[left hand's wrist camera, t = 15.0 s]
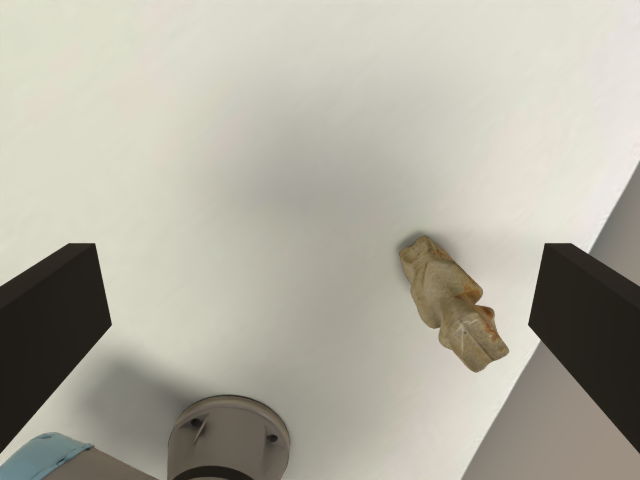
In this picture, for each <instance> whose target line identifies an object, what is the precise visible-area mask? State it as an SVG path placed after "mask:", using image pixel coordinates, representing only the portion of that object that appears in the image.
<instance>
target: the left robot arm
mask: <svg viewBox="0 0 640 480" xmlns="http://www.w3.org/2000/svg"><path fill="white" fill-rule="evenodd" d="M111 325H112V323H111V318H110V313H109V308H108V303H107V299H106V294H105V289H104V284H103V279H102V274H101V270H100V265H99V260H98V255H97V250H96V245H95V243H69V244H67V245H65V246H64V247H62V248H61V249H59V250H57V251H56V252H54V253H53V254H51V255H50V256H48V257H46V258H45V259H43V260H42V261H40V262H38V263H37V264H35V265H34V266H32V267H31V268H29V269H27V270H26V271H24V272H23V273H21V274H19V275H18V276H16V277H15V278H13V279H12V280H10V281H8V282H7V283H5V284H4V285H2V286H0V453H1V452H2V451H3V450H4V449H5V448H6V447H7V445H8V444H9V443H10V442H11V441H12V440H13V438H14V437H15V436H16V435H17V434H18V433H19V432H20V430H21V429H22V428H23V427H24V426H25V425H26V423H27V422H28V421H29V420H30V419H31V418H32V417H33V415H34V414H35V413H36V412H37V411H38V410H39V408H40V407H41V406H42V405H43V404H44V403H45V402H46V400H47V399H48V398H49V397H50V396H51V395H52V393H53V392H54V391H55V390H56V389H57V388H58V387H59V385H60V384H61V383H62V382H63V381H64V380H65V378H66V377H67V376H68V375H69V374H70V373H71V372H72V370H73V369H74V368H75V367H76V366H77V365H78V363H79V362H80V361H81V360H82V359H83V358H84V357H85V355H86V354H87V353H88V352H89V351H90V350H91V348H92V347H93V346H94V345H95V344H96V343H97V342H98V340H99V339H100V338H101V337H102V336H103V335H104V333H105V332H106V331H107V330H108V329H109V328H110V327H111ZM528 325H529V327H530V328H531V329H532V330H533V331H534V332H535V333H536V335H537V336H538V337H539V338H540V339H541V340H542V342H543V343H544V344H545V345H546V346H547V347H548V348H549V350H550V351H551V352H552V353H553V354H554V355H555V356H556V358H557V359H558V360H559V361H560V362H561V363H562V365H563V366H564V367H565V368H566V369H567V370H568V372H569V373H570V374H571V375H572V376H573V377H574V378H575V380H576V381H577V382H578V383H579V384H580V385H581V387H582V388H583V389H584V390H585V391H586V392H587V393H588V395H589V396H590V397H591V398H592V399H593V400H594V402H595V403H596V404H597V405H598V406H599V407H600V408H601V410H602V411H603V412H604V413H605V414H606V415H607V417H608V418H609V419H610V420H611V421H612V422H613V423H614V425H615V426H616V427H617V428H618V429H619V430H620V432H621V433H622V434H623V435H624V436H625V437H626V438H627V440H628V441H629V442H630V443H631V444H632V445H633V446H634V448H635V449H636V450H637V451H638V452H639V453H640V286H638V285H636V284H635V283H633V282H632V281H630V280H628V279H627V278H625V277H624V276H622V275H621V274H619V273H617V272H616V271H614V270H613V269H611V268H609V267H608V266H606V265H605V264H603V263H602V262H600V261H598V260H597V259H595V258H594V257H592V256H590V255H589V254H587V253H586V252H584V251H583V250H581V249H579V248H578V247H576V246H575V245H573V244H571V243H545V245H544V250H543V255H542V260H541V265H540V270H539V274H538V279H537V284H536V289H535V294H534V299H533V303H532V308H531V313H530V318H529V323H528ZM289 448H290V440H289V435H288V432H287V429H286V427H285V425H284V424H283V422H282V421H281V419H280V418H279V417H278V416H277V415H276V414H275V413H274V412H273V411H271V410H270V409H269V408H267V407H266V406H264V405H262V404H260V403H258V402H256V401H253V400H250V399H247V398H243V397H237V396H217V397H212V398H207V399H204V400H201V401H199V402H197V403H195V404H193V405H192V406H190V407H189V408H187V409H186V410H185V411H184V412H183V413H182V414H181V415H180V417H179V418H178V420H177V422H176V424H175V426H174V428H173V431H172V433H171V436H170V438H169V442H168V470H167V480H281V478H282V476H283V473H284V471H285V470H286V467H287V464H288V459H289ZM0 480H158V479H156V478H154V477H152V476H150V475H148V474H146V473H143V472H141V471H139V470H137V469H135V468H133V467H131V466H129V465H127V464H125V463H123V462H121V461H119V460H117V459H115V458H114V457H112V456H110V455H108V454H106V453H104V452H102V451H100V450H98V449H96V448H94V445H92V444H84V443H82V442H79V441H76V440H74V439H72V438H69V437H67V436H65V435H62V434H60V433H53V432H51V433H45V434H42V435H39V436H37V437H35V438H33V439H32V440H30V441H29V442H28V443H26V444H25V445H24V446H22V447H21V448H20V449H19V450H18V451H17V452H15V453H14V454H13V455H12V456H11V457H10V458H9V459H8V460H7V461H6V462H5V463H4V464H3V465H1V466H0Z"/></svg>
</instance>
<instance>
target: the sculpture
mask: <svg viewBox="0 0 640 480" xmlns="http://www.w3.org/2000/svg"><path fill="white" fill-rule="evenodd" d="M399 255H400V257H401V263H402V267H403V270H404V272H405V275H406V277H407V279H408V280H409V282H410V284H411V285H412V286H411V295H412V298H413V300H414V302H415V304H416V306H417V309H418V312H419V314H420V317H421V319H422V320H423V322H424V323H425V324H426V325H427V326H429V327H430V328H434V329H435V328H439V327H440V332H439V342H440V343H441V344H442V345H443V346H444V347H446V348H448V349H451V350H453V352H454V353H455V354H456V355H457V356H458V357H459V358H460V360H461V361H462V362H463V363H464V364H465V365H466V366H467V367H468V368H469V369H470V370H471V371H473V372H479V371H481V370H483V369H484V368H485V367H486V366H487V365H488V364H489V363H491V362H492V361H495V360H498V359H500V358H502V357H504V356H506V355H507V354H508V353H509V349H508V347H507V346H506V344H505V343H504V342H503V340H502V339H501V338H500V336H499V334H498V332H497V329H496V326H495V322H494V317H495V313H494V310H493V309H492V308H490V307H485V306H478V305H475V304H476V303H477V301H478V300H479V299H480V298H481V297H482V295H483V290H482V288H481V287H480V286H479V285H478V284H477V283H476V282H475V281H474V280H473V279H472V278H471V277H470V276H469V275H468V274H467V273H466V272H465V271H464V270H463V269H462V268H461V267H460V266H459V265H457V263H456V262H455V261H453V259H452V258H451V257H450V256H449V255H448V253H447V252H446V251H445V250H444V249H442V248H441V247H440V246H439V245H438V244H436V243H435V242H433V241H432V240H431V239H429V238H428V237H427V236H423V237H421V238H419V239H417V240H416V242H415V244H414V245H412V246H411V247H405V248H404V249H403V250H402V251H401V252H400V253H399Z"/></svg>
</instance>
